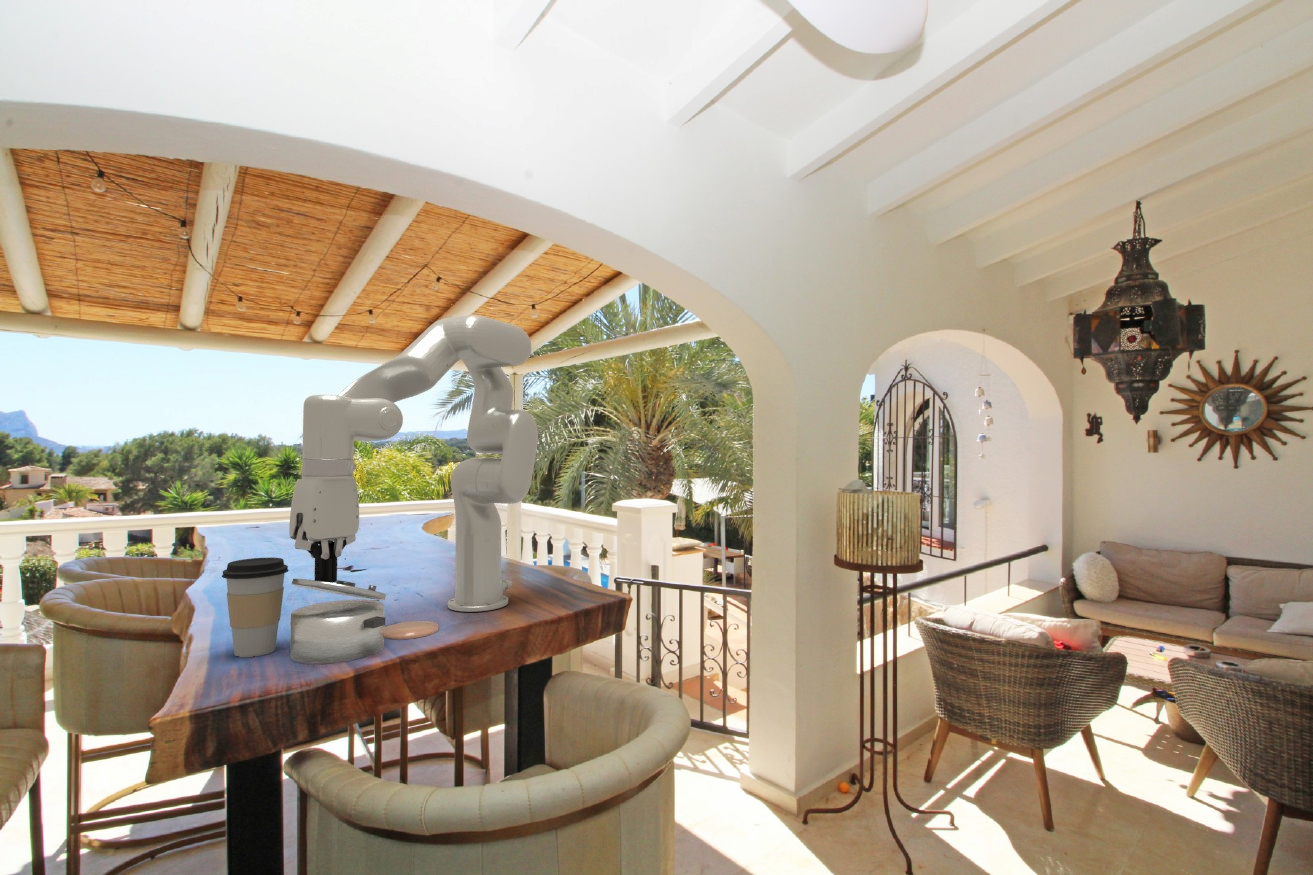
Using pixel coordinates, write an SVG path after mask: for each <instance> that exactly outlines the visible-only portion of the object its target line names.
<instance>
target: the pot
mask: <svg viewBox="0 0 1313 875" xmlns="http://www.w3.org/2000/svg"><path fill="white" fill-rule="evenodd" d="M385 626H386V617H385V603H384V602H382V601H381V600H376V599H364V598H361V599H358V598H357V599H340V600H331V601H324V602H323V601H322V602H318V603H313V604H310V605H305V606H303V607H299V608H297V609H295V610H293V611H291V613H290V652H289V653H290V656H289V657H290V660H292V661H294V662H296V663H301V664H308V665H309V664H311V665H323V664H326V665H327V664H334V663H343V662H349V661H355V660H358V659H361V658H366V657H368V656H371V655H373V654H375V653H377V652H379V651H381V650H382V649H383V648H384V646H385V638H384V627H385Z"/></svg>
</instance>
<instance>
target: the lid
mask: <svg viewBox="0 0 1313 875" xmlns="http://www.w3.org/2000/svg"><path fill="white" fill-rule="evenodd" d="M291 585H293V586H296V587H299V588H302V589H303V588H304V589H308V590H314V591H319V592H325V593H328V594H329V593H330V594H335V595H342V596H346V597H347V596H348V597H354V598H361V599H366V600H376V601H385V600H386V598H387V594H386V593H383V592H380V591H376V590H377V585H373V584H369V585H368V588H362V587H357V586H356V583H355V582H351V581H346V580H339V579H337V581H336V582H333V583H332V582H331V583H329V582H322V581H315V579H314V580H313V579H307V578H292V580H291Z"/></svg>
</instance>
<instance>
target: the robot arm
mask: <svg viewBox="0 0 1313 875" xmlns="http://www.w3.org/2000/svg"><path fill="white" fill-rule="evenodd" d="M531 353H532V342H531V339H530V336H529V335H528V333H527V332H526V331H525V330H524V329H523V328H521V327H520V326H518V325H515V324H512V323H509V322H504V321H501V320H497V319H494V318H491V317H487V316H483V315H479V314H478V315H477V314H470V315H462V316H454V317H453V316H452V317H446V318H442V319H439V320H436V321H434V322H433V323H432V324H431V325H429V326H428V328H426V329H425V330H424V331H423V332H422V333H421V334H420V335H419V336H418V337H417V338H416V339H415V340H414V341H412V343H410V345H408V346H407V347H406V348H405V349H404V350H403V351H402V352H401V353H400V354H398V355H397V356H396V357H394V358H392V359H390V360H388V361H386V362H385V363H382V364H381V365H379V366H377V367H376V368H373V369H372V370H371V371H369V372H367V373H365V374H363V375H361V376H360V377H358V378H357V379H356V380H354V381H352V382H351V383H349V385H347V386H346V387H345V388H344V389H343V390H342V391H341V392H339V393H338V394H337V395H335V394H334V395H333V394H313V395H310V396H308V397H306V399H305V400H304V401H303V402H304V403H303V409H302V410H303V412H302V413H303V414H302V416H303V418H302V454H301V455H302V457H301V458H302V460H301V461H302V463H301V464H302V465H301V478H297V480H296V482H295V485H294V488H293V489H294V490H293V495H292V499H291V506H290V515H289V525H288V526H289V527H288V528H289V532H288V533H289V538H290V539H292V540H294V541H295V543H294V548H295V550H300V551H301V550H302V551H307V552H308V553H309V554H310V557H311V558H312V559H314V580H315V581H322V582H329V583H336V581H337V580H338V558H339V557H341V556H342V552H343V550H344V549H345V547H346V546H347V545H350V544H352V543H354V542H356V539H357V537H356V534H357V533H358V531H359V527H360V502H359V492H358V486H357V485H358V484H357V481H356V478H354V471H356V470H357V464H356V463H354V454H355V453H354V448H355V446H354V443H355V442H359V441H361V442H362V441H363V442H379V441H380V442H381V441H385V440H388V439H391V438H393V437H394V436H396V435H397V434H398V433H399V432H400V430H401V428H402V427H403V423H404V422H403V420H404V417H403V413H402V411H401V409H400V408H399V406H398V405H397V404H396V402H397V403H398V401H399V402H400V401H402V400H406V399H409V398H413V397H416V396H418V395H420V394H423V393H425V392H428V391H429V390H431V389H432V388H434V387H435V386H436V385H437V384H438V382H439V381H441V379H442V378H443V377H444V376H445V375H446V374H447V373H448V371H450V370H451V369H452V368H453V367H454V366H455V364H456V363H457V362H459V361H460V360H461V361H462V363H463V364H464V366H465V367H466V369H467V370H468V373H469V374H470V376H471V380H472V382H473V386H474V387H473V388H474V389H473V399H472V400H473V401H472V405H471V410H470V415H469V420H468V421H469V422H468V426H467V433H466V442H467V444H468V447H469V448H470V449H471V450H472V451H474V452H476V453H481V454H494V455H495V454H501V458H490V457H489V458H488V457H487V458H486V457H484V458H483V457H482V458H480V457H479V458H478V457H475V458H468V459H465V460H462V461H460V462H459V463H458V464H456V466H455V467H454V469H453V470H452V472H451V475H450V488H451V493H452V494H451V495H452V499H453V504H454V511H455V515H454V516H455V554H454V556H455V567H454V568H455V570H454V571H455V572H454V573H455V575H454V576H455V577H454V578H455V582H454V584H455V586H454V587H455V589H454V590H455V592H454V593H455V597H453V598H451V599H449V600H448V601H447V608H448V610H452V611H455V612H456V611H457V612H462V613H463V612H466V613H467V612H469V613H470V612H473V613H474V612H486V611H487V612H488V611H493V610H497V609H500V608H503V607H505V606H507V605H508V604H509V597H508V596H507V595H504V591H505V590H509V589H510V588H512V586H513V582H512V581H511V580H510V579H507V580H502V520H501V517H500V513H499V511H498V509H497V507H496V505H495V504H501V505H502V504H504V505H506V504H507V505H510V504H512V505H513V504H519V503H520V502H522V501H523V500H524V499H525V498H526V497H527V495H528V493H529V490H530V488H531V483H532V480H533V474H534V467H535V461H536V455H537V450H538V448H537V447H538V442H539V441H538V440H539V430H538V425H537V423H536V419H535V418H534V417H533V415H532V414H531V413H529V412H528V411H525V410H523V409H512V408H513V401H514V388H513V385H512V383H511V381H510V379H509V377H508V376H507V374H506V373H505V372H504V370H503V368H504V367H505V368H507V367H516V366H520V365H523V364H524V363H526V362H527V361H528V359H530V356H531Z"/></svg>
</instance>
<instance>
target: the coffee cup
mask: <svg viewBox="0 0 1313 875" xmlns="http://www.w3.org/2000/svg"><path fill="white" fill-rule="evenodd" d="M288 567H289V566H288V565H287V564H285V561H284V559H283V558H281V557H258V558H257V557H254V558H252V557H251V558H245V559H238V560H234V561H230V562H227V566H226V569H224V570H223V571H222V576H221V578H222V579H226V580H225V581H226V587H227V592H226V599H227V600H226V601H227V606H228V607H227V609H228V616H229V618H228V619H229V626H230V628H231V636H232V645H233V646H232V647H233V654H234V657H236V656H240V657H239V658H253V656H255V657H260V656H265V655H269V654H271V653H273V652H275V650H276V648H277V647H276V646H277V639H278V631H279V623H280V621H281V616H282V614H281V613H282V608H283V606H282V605H283V598H284V589H285V587H284V582H285V575H286V573H288V572H289V571H290V570H289V569H288Z"/></svg>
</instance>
